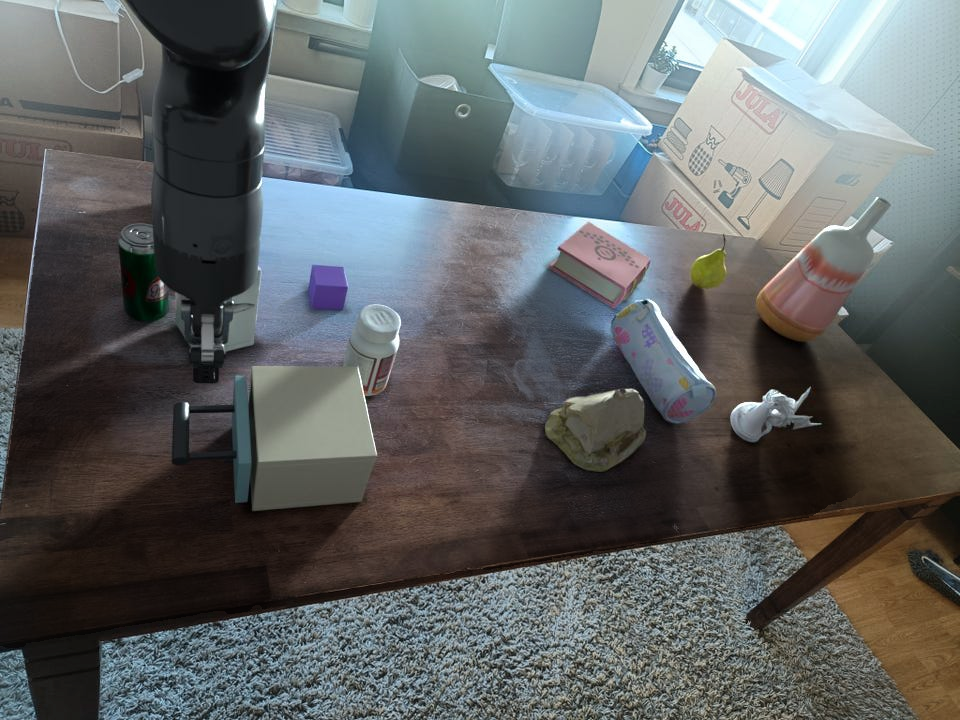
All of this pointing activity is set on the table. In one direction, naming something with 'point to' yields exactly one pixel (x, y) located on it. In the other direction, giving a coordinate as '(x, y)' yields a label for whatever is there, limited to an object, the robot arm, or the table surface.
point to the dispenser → (308, 436)
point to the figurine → (767, 415)
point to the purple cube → (327, 287)
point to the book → (600, 264)
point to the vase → (819, 279)
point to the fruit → (709, 269)
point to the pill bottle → (373, 346)
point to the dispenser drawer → (239, 435)
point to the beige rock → (598, 428)
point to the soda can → (141, 275)
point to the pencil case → (661, 362)
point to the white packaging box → (235, 317)
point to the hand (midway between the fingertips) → (205, 377)
